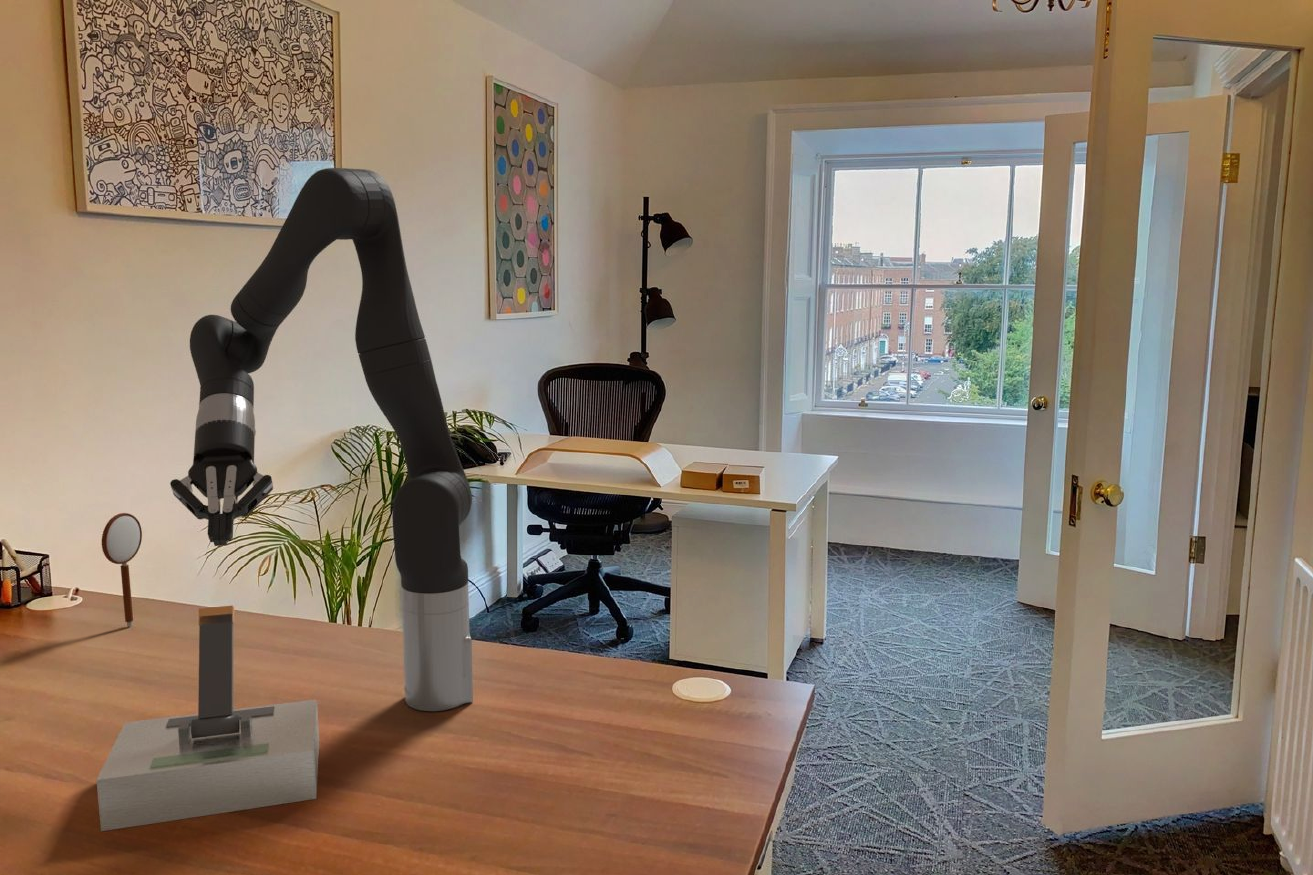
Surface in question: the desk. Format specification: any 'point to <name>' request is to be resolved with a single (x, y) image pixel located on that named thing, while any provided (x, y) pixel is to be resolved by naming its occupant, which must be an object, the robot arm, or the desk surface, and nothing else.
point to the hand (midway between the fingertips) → (220, 542)
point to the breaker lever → (215, 674)
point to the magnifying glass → (122, 551)
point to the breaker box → (209, 766)
